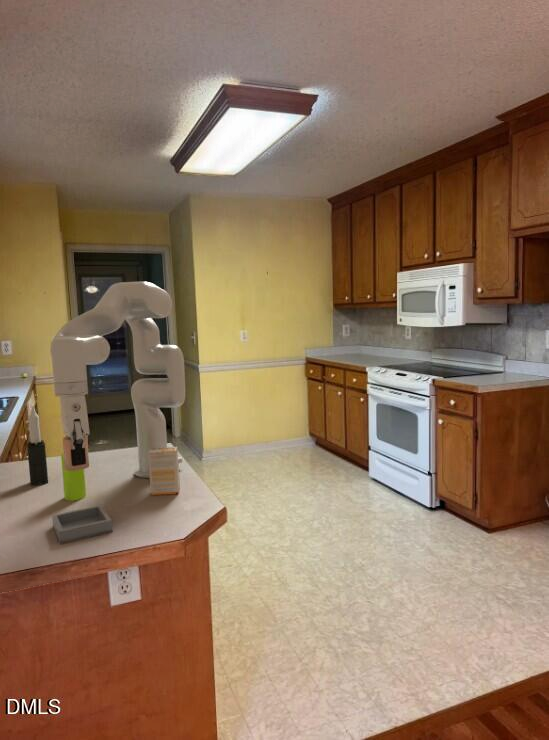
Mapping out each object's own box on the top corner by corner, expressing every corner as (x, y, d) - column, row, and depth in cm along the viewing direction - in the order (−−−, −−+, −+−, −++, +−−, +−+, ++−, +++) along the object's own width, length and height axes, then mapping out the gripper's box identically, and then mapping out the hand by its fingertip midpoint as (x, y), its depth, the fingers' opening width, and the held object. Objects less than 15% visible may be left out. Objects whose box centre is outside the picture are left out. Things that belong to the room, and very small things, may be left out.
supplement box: (180, 488, 156) (178, 446, 155) (178, 494, 152) (176, 450, 150) (152, 490, 156) (150, 447, 155) (150, 495, 151) (147, 452, 150)
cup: (86, 462, 131) (84, 431, 130) (91, 468, 126) (88, 435, 125) (63, 466, 128) (60, 434, 127) (66, 472, 123) (64, 439, 122)
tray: (101, 516, 137) (101, 505, 137) (112, 531, 127) (111, 520, 126) (53, 526, 131) (52, 515, 131) (59, 544, 121) (58, 531, 120)
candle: (31, 486, 164) (24, 408, 161) (30, 481, 168) (23, 405, 165) (48, 483, 166) (42, 406, 163) (47, 479, 170) (40, 403, 168)
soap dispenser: (93, 493, 155) (88, 427, 152) (75, 501, 148) (69, 433, 146) (78, 491, 157) (73, 426, 155) (60, 499, 151) (54, 431, 149)
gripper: (94, 391, 119) (100, 467, 121) (81, 383, 134) (86, 452, 136) (59, 394, 116) (65, 473, 118) (49, 386, 130) (55, 456, 132)
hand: (76, 461), depth 127 cm, fingers closed on cup, 5 cm apart
